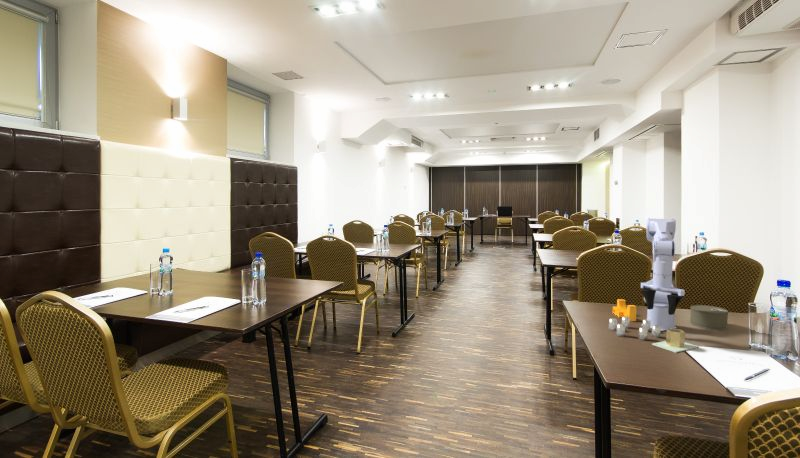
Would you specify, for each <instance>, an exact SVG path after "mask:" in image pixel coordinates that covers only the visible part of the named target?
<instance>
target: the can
mask: <svg viewBox="0 0 800 458" xmlns="http://www.w3.org/2000/svg"><path fill="white" fill-rule="evenodd" d="M728 318H729V310H728V309H726V308H722V307H719V306H714V305H704V304H694V305H690V322H689V323H690V325H692V326H693V327H697V328H700V329H705V330H714V331H726V330H727V329H728Z"/></svg>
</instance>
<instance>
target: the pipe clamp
mask: <svg viewBox="0 0 800 458" xmlns="http://www.w3.org/2000/svg"><path fill="white" fill-rule="evenodd" d="M613 313H614V314H615V315H614V314H613ZM612 314H613V315H614V316H616V315H617V316H618V317H617V316H616V317H617V318H619V317H622V316H627V317H629V322H630V321H636V322H637V305H635V304H627V303H626V300H625V299H623V298H622V299H621V298H619V299H617V300H616V305H615V306H613V305H612Z"/></svg>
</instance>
